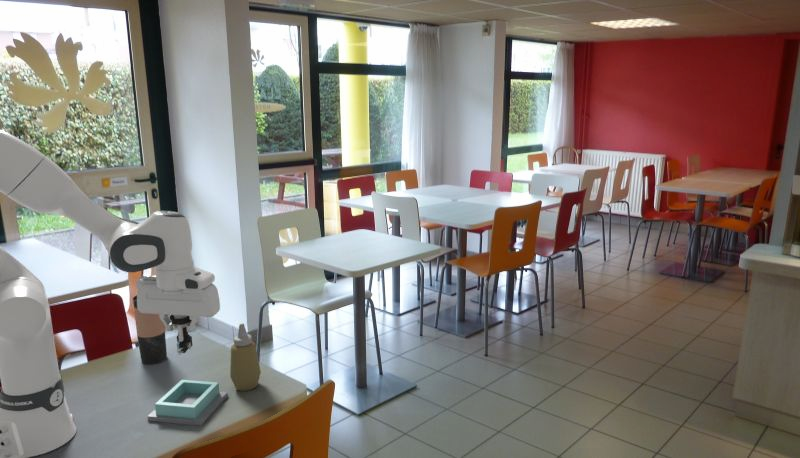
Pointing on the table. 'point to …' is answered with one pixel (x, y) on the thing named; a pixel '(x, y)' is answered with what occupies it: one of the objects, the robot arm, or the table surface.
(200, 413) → the socket plate
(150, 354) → the travel mug
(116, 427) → the table surface
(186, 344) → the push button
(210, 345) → the table surface
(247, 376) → the squeeze bottle
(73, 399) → the table surface
